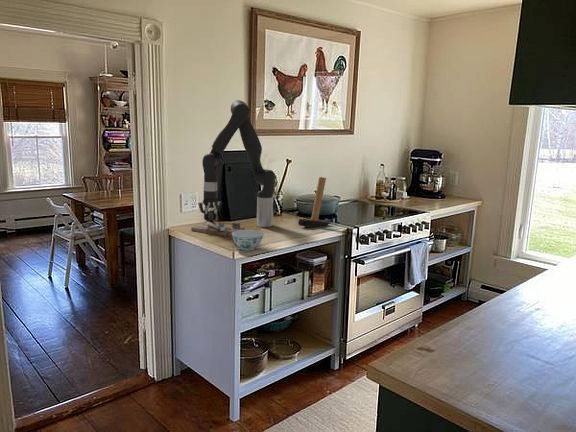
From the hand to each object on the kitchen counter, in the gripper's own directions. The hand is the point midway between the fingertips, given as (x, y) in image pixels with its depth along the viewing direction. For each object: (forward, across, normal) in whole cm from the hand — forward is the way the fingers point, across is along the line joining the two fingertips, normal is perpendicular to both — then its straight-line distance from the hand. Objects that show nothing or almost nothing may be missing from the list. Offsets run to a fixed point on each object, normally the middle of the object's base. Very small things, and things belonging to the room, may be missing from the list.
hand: (210, 219), depth 255 cm
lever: (+3, 0, -7) cm, 8 cm away
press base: (+5, +2, -6) cm, 8 cm away
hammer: (+5, +59, -17) cm, 61 cm away
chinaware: (+5, +2, -47) cm, 47 cm away
